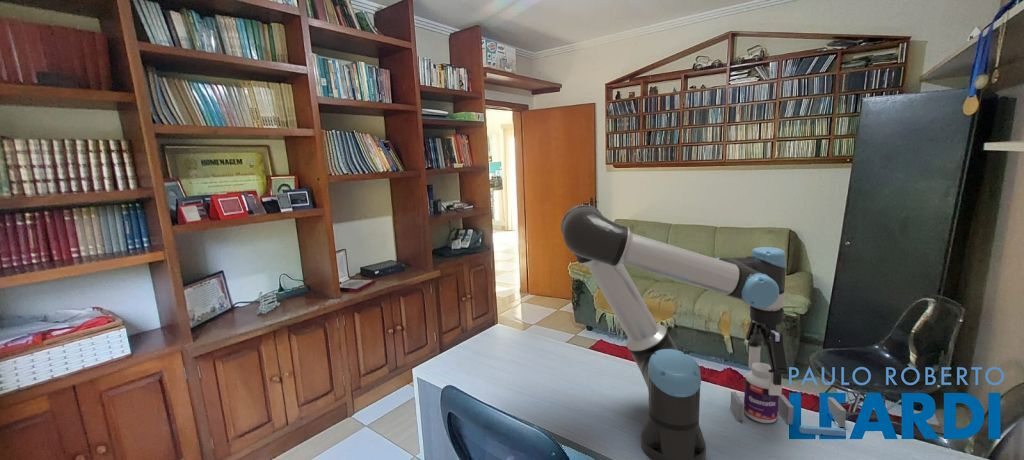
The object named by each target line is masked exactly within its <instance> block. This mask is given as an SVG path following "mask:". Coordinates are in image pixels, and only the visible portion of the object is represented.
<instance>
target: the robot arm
mask: <svg viewBox="0 0 1024 460" xmlns="http://www.w3.org/2000/svg"><path fill="white" fill-rule="evenodd" d="M561 220H562V221H561V224H560V228H561V233H562V237H563V241H564V243H565V246H566V247H567V248H568V249H569V251H570V252H572V253H573V255H574V257H575V259H576V261H577V262H578V263H579V264H580V265H583V266H586V267H587V268H588V270H589V272H590V273H591V275H592V277H593V279H594V281H595V282H596V284H597V286H598V287H599V289H600V291H601V293H602V295H603V296H604V298H605V300H606V301H607V303H608V305H609V307H610V309H611V310H612V313H613V314H614V316H615V317H616V319H617V321H618V323H619V324H620V326H621V328H622V329H623V331H624V333H625V335H626V336H627V340H626V342H625V343H626V344H625V345H626V347H627V349H628V350H629V353H630V355H631V357H632V358H633V360H634V362H635V363H636V365H637V367H638V369H639V371H640V373H641V376H642V378H643V380H644V382H645V384H646V387H647V390H648V391H647V392H648V393H647V394H648V403H647V404H648V405H647V406H648V407H647V408H648V409H647V410H648V411H647V412H648V414H647V416H646V419H645V421H644V424H643V426H642V429H641V432H640V445H641V448H642V450H643V452H644V453H645V454H646V455H647V456H648V457H649V458H650V459H652V460H705V459H706V457H707V446H706V445H707V444H706V440H705V437H704V435H703V431H702V429H701V425H700V403H701V401H700V399H701V385H702V376H701V369H700V366H699V363H698V362H697V360H695V358H694V357H692V356H691V355H690V354H687V353H685V352H684V351H681V350H679V349H678V347H677V346H676V344H675V342H674V341H673V339H672V337H671V335H670V333H669V332H668V329H667V328H666V326H664V325H663V324H659V323H657V322H656V320H655V318H654V317H653V314H652V313H651V311H650V310H649V308H648V306H647V304H646V302H645V301H644V299H643V297H642V295H641V294H640V293H641V292H639V289H638V288H637V287H636V285H635V283H634V281H633V278H631V276H630V274H629V272H628V271H627V268H626V267H625V266H628V267H632V268H635V269H638V270H641V271H645V272H648V273H650V274H655V275H658V276H660V277H661V276H662V277H666V278H667V279H672V280H675V281H678V282H681V283H684V284H688V285H691V286H695V287H697V288H700V289H704V290H708V291H710V292H714V293H717V294H720V295H724V296H727V297H730V298H732V299H736V300H740V301H743V302H744V303H745V304H746V305H748V306H749V307H750V308H749V309H750V310H749V318H750V322H749V326H748V329H747V333H746V336H745V340H746V341H748V342H747V344H748V345H749V346H748V369H750V370H751V366H752V364H753V363H761V349H762V345H763V346H764V347H765V349H766V353H767V358H768V361H769V365H770V366H771V370H768V371H769V392H768V394H769V395H778V396H781V395H782V392H783V390H782V389H783V375H788V373H789V371H788V366H787V360H786V353H785V348H784V335H783V332H778V330H777V326H778V325H780V324H781V325H782V324H783V322H784V311H785V309H784V308H783V307H784V306H785V298H787V294H786V293H785V288H786V287H785V286H786V273H787V272H786V270H787V257H786V256H787V255H786V252H785V251H784V249H781V248H778V247H771V246H759V247H755V248H752V250H751V254H750V256H743V257H742V256H733V257H732V256H731V257H719V256H717V257H712V256H709V255H705V254H702V253H699V252H695V251H692V250H689V249H686V248H685V249H684V248H682V247H678V246H676V245H672V244H669V243H666V242H662V241H659V240H655V239H652V238H649V237H645V236H642V235H639V234H635V233H633V232H631V230H630V228H629V227H627V226H626V225H625V226H624V225H621V224H618V223H616V222H614V221H612V220H610V219H608V218H607V217H605V216H604V215H603V214H602V213H601V211H599V209H597V208H596V207H594V206H592V205H587V204H584V205H583V204H580V205H576V206H574V207H571V209H569V210H568V211H567V212H566V213H565V215H564V216H563V218H562V219H561Z"/></svg>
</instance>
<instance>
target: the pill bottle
mask: <svg viewBox="0 0 1024 460" xmlns="http://www.w3.org/2000/svg"><path fill="white" fill-rule="evenodd" d="M768 370H771V366H770V364H768V363H764V362H760V363H753V364H752V366H751V369H750V370H749V371H747V373H746V374H745V376H744V377H745V378H744V379H745V381H744V396H743V399H744V400H743V413H745V415H746V416H747V417H748V418H749V419H751V420H753V421H756V422H759V423H762V424H772V423H775V422H776V421H777V420H778V416H779V412H778V405H779V396H778V395H769V394H768V392H769V371H768Z"/></svg>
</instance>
